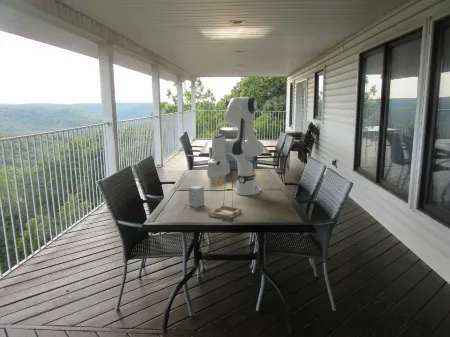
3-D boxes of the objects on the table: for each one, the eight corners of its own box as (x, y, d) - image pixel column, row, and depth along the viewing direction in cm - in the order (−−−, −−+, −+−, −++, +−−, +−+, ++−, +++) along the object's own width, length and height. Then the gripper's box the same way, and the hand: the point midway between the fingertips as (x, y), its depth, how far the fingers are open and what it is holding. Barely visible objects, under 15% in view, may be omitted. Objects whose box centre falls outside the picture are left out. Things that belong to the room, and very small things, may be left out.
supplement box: (196, 203, 239) (196, 185, 236) (204, 205, 234) (204, 186, 232) (188, 205, 233) (188, 187, 231) (196, 207, 229) (196, 189, 226)
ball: (218, 184, 222) (218, 177, 221) (224, 185, 219) (224, 177, 218) (213, 186, 217) (213, 178, 217) (220, 187, 215) (220, 179, 214)
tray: (222, 209, 225) (222, 205, 225) (241, 212, 218) (241, 208, 218) (208, 216, 212) (208, 212, 212) (228, 219, 205) (228, 215, 204)
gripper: (224, 158, 226) (224, 179, 228) (205, 162, 209) (205, 185, 211) (232, 159, 222) (232, 180, 225) (214, 163, 205) (214, 186, 208)
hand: (219, 182), depth 218 cm, fingers closed on ball, 5 cm apart
